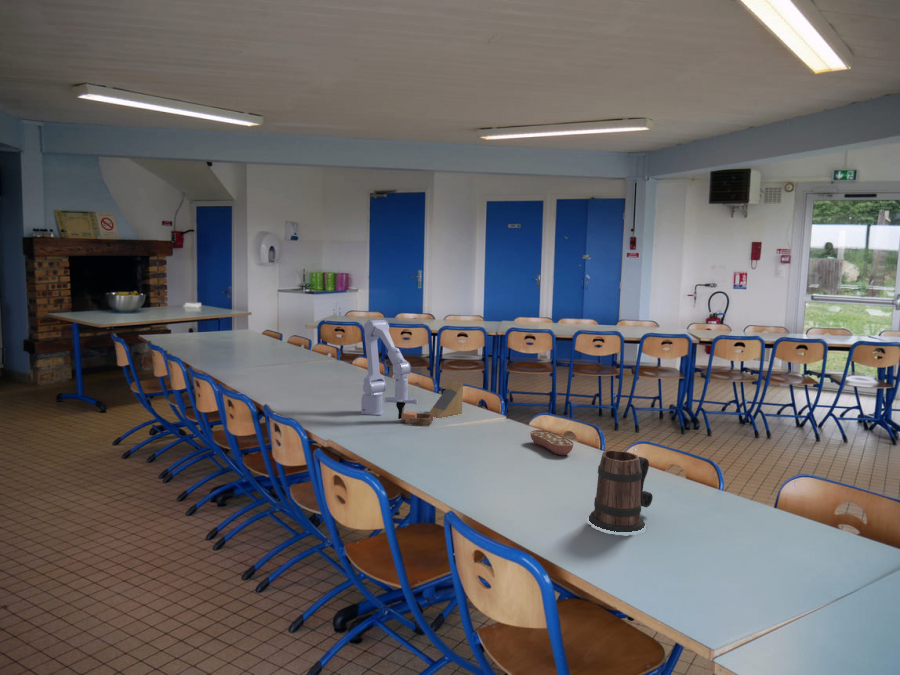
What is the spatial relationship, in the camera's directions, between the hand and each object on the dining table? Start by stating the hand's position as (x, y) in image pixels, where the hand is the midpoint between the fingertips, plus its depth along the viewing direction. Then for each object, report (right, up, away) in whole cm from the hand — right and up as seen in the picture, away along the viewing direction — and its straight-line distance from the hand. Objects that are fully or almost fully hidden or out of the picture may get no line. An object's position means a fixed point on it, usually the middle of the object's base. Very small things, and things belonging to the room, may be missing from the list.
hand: (400, 418), depth 289 cm
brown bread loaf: (+62, -8, -35) cm, 72 cm away
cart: (+4, -1, 0) cm, 4 cm away
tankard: (+72, -16, -104) cm, 128 cm away
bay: (+9, -2, -1) cm, 10 cm away
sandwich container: (+19, 0, +15) cm, 24 cm away
